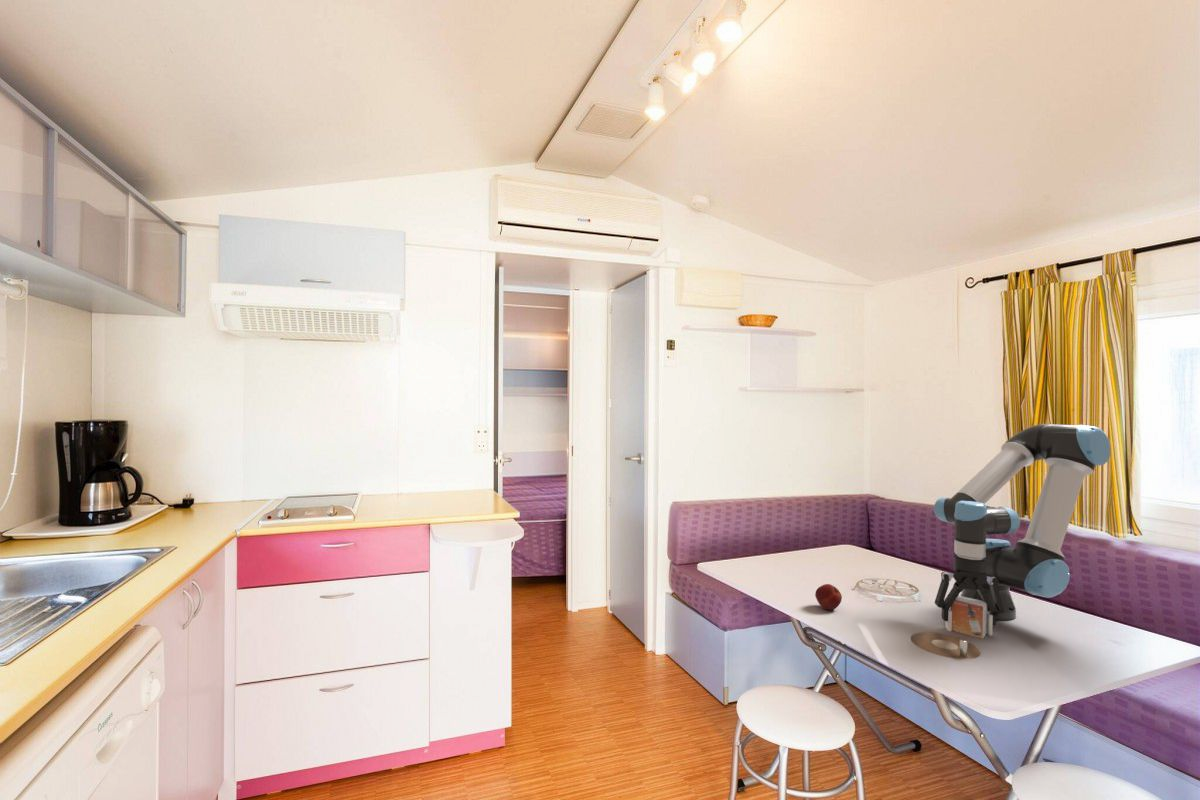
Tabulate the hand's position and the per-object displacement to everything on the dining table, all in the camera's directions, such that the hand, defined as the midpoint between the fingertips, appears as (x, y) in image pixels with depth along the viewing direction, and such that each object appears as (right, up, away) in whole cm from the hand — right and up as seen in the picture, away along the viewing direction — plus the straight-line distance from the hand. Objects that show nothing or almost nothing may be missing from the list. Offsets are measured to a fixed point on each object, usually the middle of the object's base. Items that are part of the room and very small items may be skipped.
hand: (968, 634), depth 157 cm
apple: (-32, 0, +19) cm, 38 cm away
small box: (0, -1, 0) cm, 1 cm away
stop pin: (-12, +1, -16) cm, 20 cm away
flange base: (-13, 0, -9) cm, 16 cm away
